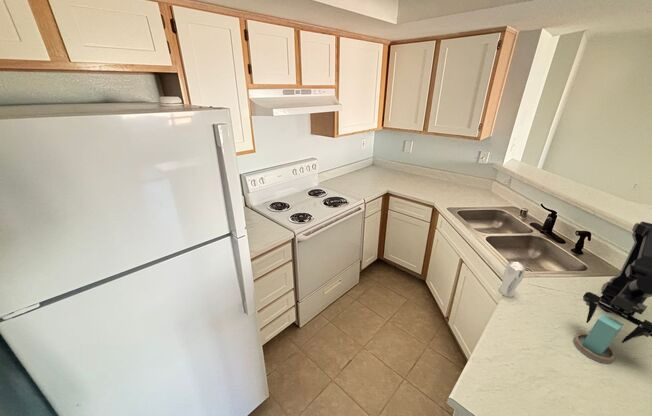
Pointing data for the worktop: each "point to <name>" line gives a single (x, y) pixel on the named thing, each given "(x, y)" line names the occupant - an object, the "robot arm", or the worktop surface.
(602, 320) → the teal rectangular block
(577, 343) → the groove tray
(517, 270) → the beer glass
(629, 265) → the robot arm
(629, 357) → the worktop surface
